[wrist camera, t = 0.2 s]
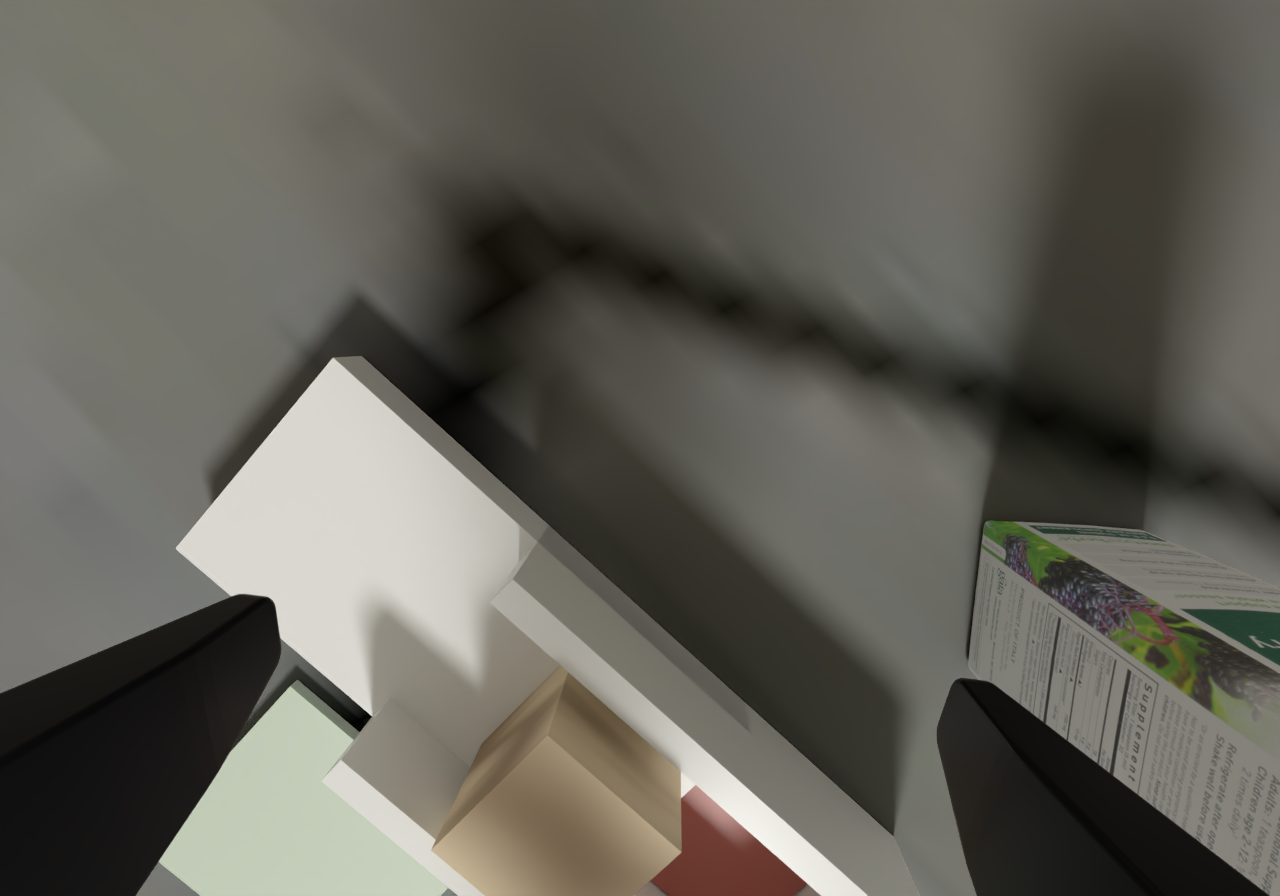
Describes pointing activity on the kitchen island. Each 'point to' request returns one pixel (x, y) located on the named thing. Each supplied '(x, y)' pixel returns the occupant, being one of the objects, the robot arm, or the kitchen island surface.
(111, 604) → the kitchen island surface
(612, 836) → the maple block
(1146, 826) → the robot arm
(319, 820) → the sage pad
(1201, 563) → the syrup box
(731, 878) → the trap channel
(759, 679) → the kitchen island surface
